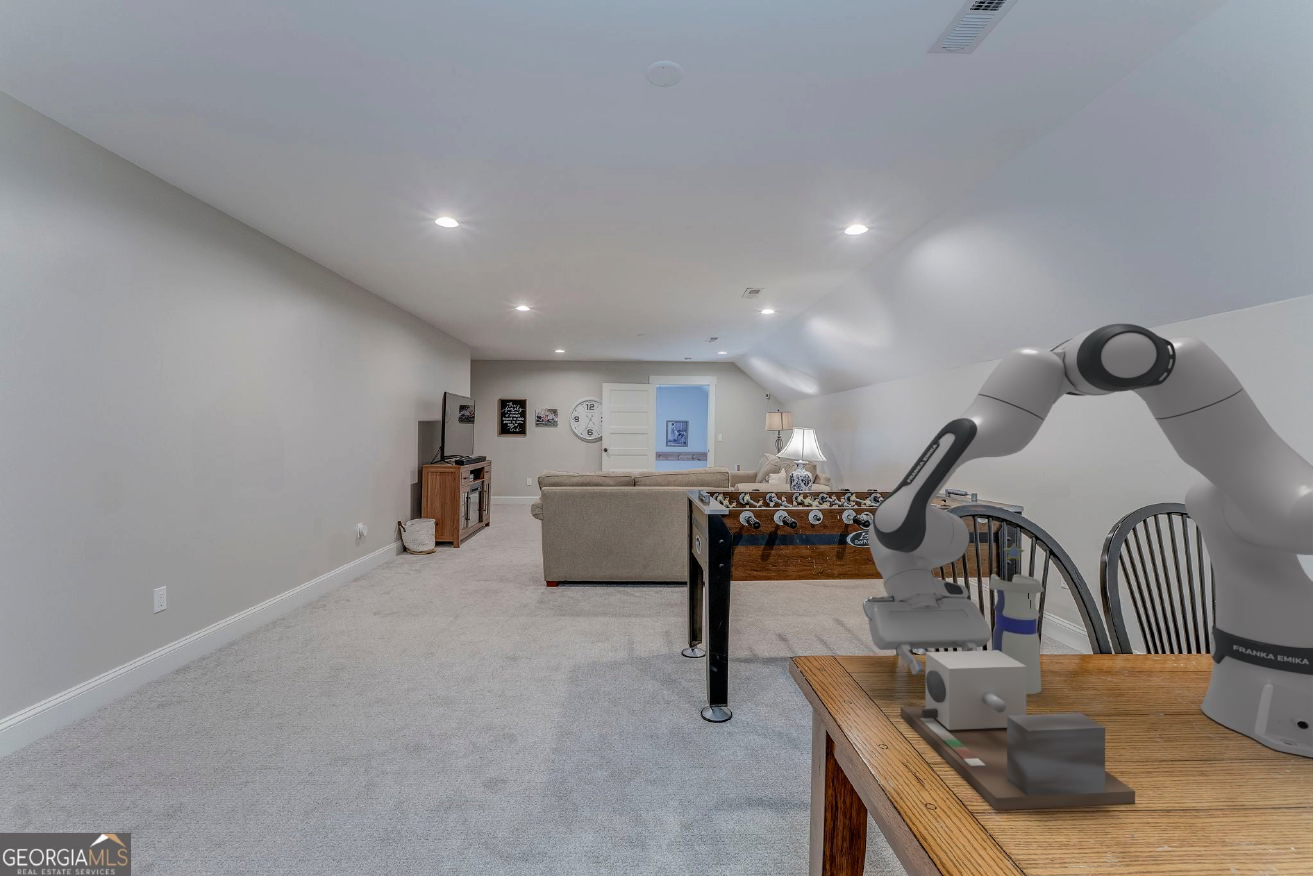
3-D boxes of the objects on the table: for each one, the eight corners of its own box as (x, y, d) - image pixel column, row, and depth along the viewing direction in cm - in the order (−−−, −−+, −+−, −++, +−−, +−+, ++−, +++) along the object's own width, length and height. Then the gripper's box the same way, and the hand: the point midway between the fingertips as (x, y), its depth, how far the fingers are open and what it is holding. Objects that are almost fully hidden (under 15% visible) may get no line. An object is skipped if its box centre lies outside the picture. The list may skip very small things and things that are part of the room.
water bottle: (977, 673, 103) (978, 542, 103) (1023, 674, 103) (1024, 542, 102) (1003, 693, 95) (1004, 551, 94) (1053, 694, 94) (1054, 552, 94)
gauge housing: (912, 709, 85) (912, 652, 85) (997, 706, 86) (997, 650, 86) (944, 740, 77) (945, 676, 77) (1039, 736, 78) (1039, 673, 78)
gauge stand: (900, 715, 87) (900, 657, 87) (1006, 711, 88) (1006, 654, 88) (996, 810, 65) (996, 732, 65) (1135, 803, 67) (1135, 726, 66)
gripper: (865, 588, 96) (893, 666, 87) (974, 586, 98) (1013, 662, 88) (854, 605, 101) (879, 681, 91) (958, 603, 102) (994, 677, 93)
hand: (946, 672), depth 90 cm, fingers open, 8 cm apart
